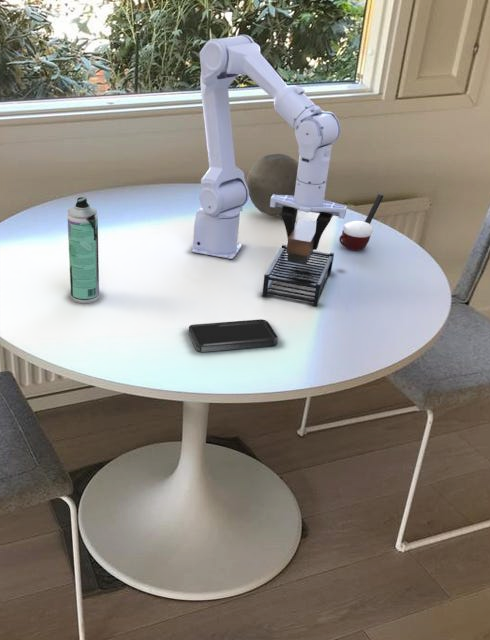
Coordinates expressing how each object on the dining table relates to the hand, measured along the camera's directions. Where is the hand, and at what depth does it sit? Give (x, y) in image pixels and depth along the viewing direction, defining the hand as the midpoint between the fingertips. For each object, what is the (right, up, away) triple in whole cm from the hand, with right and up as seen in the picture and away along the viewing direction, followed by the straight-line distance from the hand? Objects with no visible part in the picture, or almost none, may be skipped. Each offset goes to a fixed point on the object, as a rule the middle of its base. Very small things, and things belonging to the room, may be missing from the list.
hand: (302, 245), depth 153 cm
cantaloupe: (-1, +13, +36) cm, 39 cm away
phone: (-15, -19, -14) cm, 28 cm away
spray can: (-43, -11, -3) cm, 44 cm away
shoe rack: (0, -7, +5) cm, 9 cm away
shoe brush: (0, -1, +1) cm, 2 cm away
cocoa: (+16, +3, +22) cm, 27 cm away
